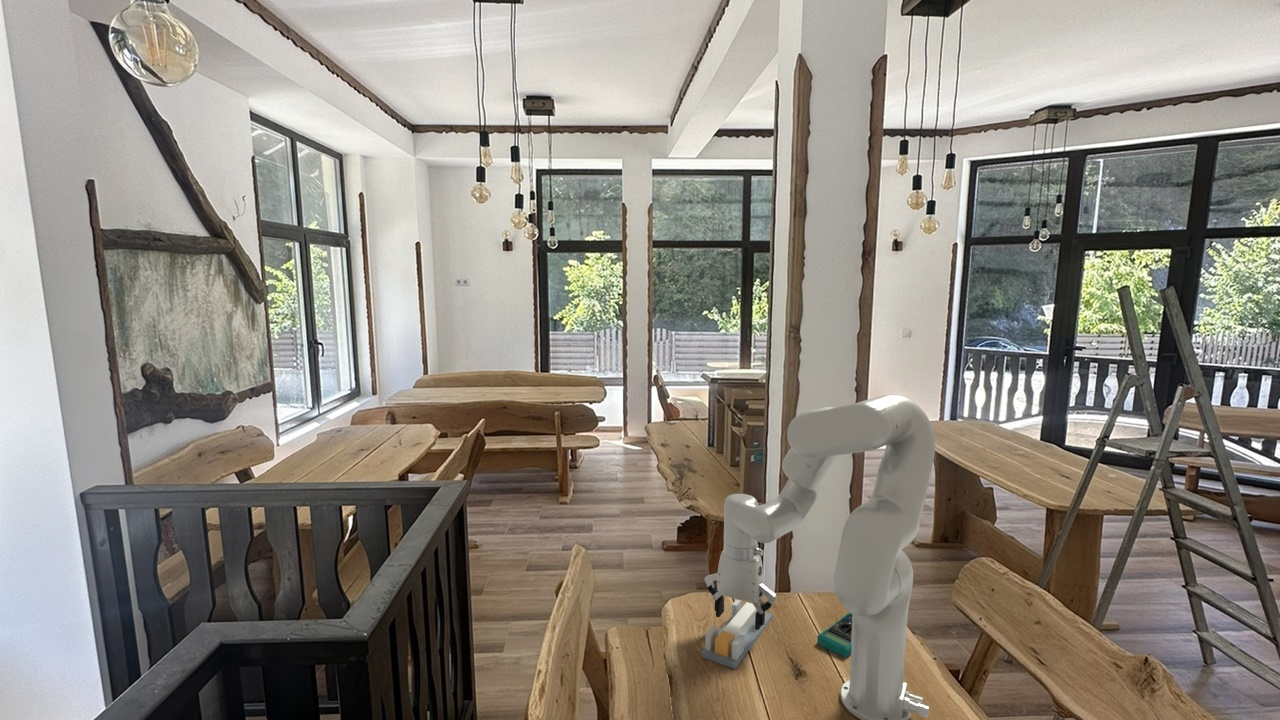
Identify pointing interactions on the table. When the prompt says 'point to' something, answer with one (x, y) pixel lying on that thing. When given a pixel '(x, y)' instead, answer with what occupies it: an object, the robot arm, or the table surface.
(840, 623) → the digital multimeter
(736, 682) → the table surface
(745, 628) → the bar
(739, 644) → the grey peg holder base
